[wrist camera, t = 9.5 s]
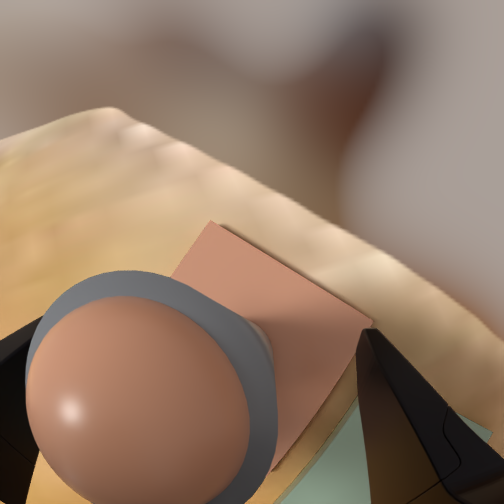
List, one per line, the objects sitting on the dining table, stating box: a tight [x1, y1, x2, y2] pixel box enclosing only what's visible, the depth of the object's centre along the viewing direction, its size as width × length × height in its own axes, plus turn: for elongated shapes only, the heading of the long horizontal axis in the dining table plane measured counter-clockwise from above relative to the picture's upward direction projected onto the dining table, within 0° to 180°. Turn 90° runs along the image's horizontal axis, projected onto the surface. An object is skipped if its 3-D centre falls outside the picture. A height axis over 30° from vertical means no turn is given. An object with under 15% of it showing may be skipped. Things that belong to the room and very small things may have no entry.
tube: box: [25, 271, 278, 504], centre depth 9 cm, size 4×4×14 cm
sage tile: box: [273, 396, 493, 504], centre depth 14 cm, size 11×11×1 cm
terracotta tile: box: [170, 220, 373, 476], centre depth 17 cm, size 11×11×1 cm
